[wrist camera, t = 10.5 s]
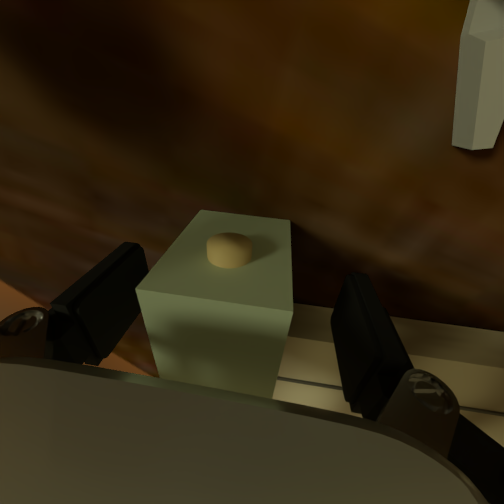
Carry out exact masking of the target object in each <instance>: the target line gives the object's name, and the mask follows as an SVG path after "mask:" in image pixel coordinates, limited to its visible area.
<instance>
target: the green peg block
mask: <svg viewBox="0 0 504 504" xmlns="http://www.w3.org/2000/svg"><path fill="white" fill-rule="evenodd" d="M135 290H136V293H137V297H138V300H139V304H140V308H141V311H142V315H143V318H144V322H145V326H146V329H147V333H148V336H149V340H150V344H151V347H152V351H153V355H154V358H155V362H156V365H157V369H158V373H159V376H160V378H162V379H167V380H173V381H178V382H184V383H189V384H195V385H200V386H205V387H211V388H216V389H222V390H227V391H233V392H238V393H243V394H249V395H254V396H259V397H265V398H270V399H272V397H273V393H274V389H275V385H276V381H277V377H278V372H279V368H280V364H281V360H282V356H283V352H284V348H285V344H286V340H287V335H288V331H289V327H290V323H291V319H292V315H293V289H292V260H291V232H290V220H283V219H274V218H266V217H257V216H249V215H240V214H232V213H223V212H215V211H206V210H200V211H199V213H198V214H197V215H196V216H195V217H194V219H193V220H192V221H191V222H190V223H189V225H188V226H187V227H186V228H185V229H184V231H183V232H182V233H181V234H180V236H179V237H178V238H177V239H176V240H175V242H174V243H173V244H172V245H171V246H170V248H169V249H168V250H167V251H166V252H165V254H164V255H163V256H162V257H161V258H160V260H159V261H158V262H157V263H156V264H155V266H154V267H153V268H152V269H151V270H150V272H149V273H148V274H147V275H146V277H145V278H144V279H143V280H142V281H141V283H140V284H139V285H138V286H137V287H136V289H135Z"/></svg>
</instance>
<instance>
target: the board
mask: <svg viewBox="0 0 504 504" xmlns="http://www.w3.org/2000/svg"><path fill="white" fill-rule="evenodd" d="M333 310H334V308H326V307H319V306H312V305H305V304H297V303H293V315H292V319H291V323H290V327H289V331H288V335H287V340H286V344H285V348H284V352H283V356H282V360H281V364H280V368H279V372H278V377H277V381H276V385H275V389H274V393H273V397H272V399H275V400H280V401H286V402H291V403H296V404H302V405H306V406H311V407H316V408H321V409H326V410H331V411H335V412H340V413H345V414H349V415H353V416H357V417H361V418H362V414H358V413H353V412H351V409H350V404H349V402H346V401H345V399H344V395H343V389H342V384H341V378H340V373H339V368H338V362H337V357H336V352H335V346H334V341H333V335H332V330H331V324H330V319H331V315H332V313H333ZM390 318H391V320H392V322H393V324H394V326H395V328H396V330H397V333H398V335H399V337H400V339H401V341H402V343H403V345H404V347H405V349H406V351H407V354H408V356H409V358H410V360H411V362H412V364H413V366H414V368H415V369H421V370H424V371H427V372H429V373H431V374H433V375H435V376H437V377H438V378H439V379H440V380H442V381H443V382H444V383H445V384H446V385H447V386H448V387H449V388H450V389H451V390H452V392H453V393H454V395H455V396H456V398H457V400H458V403H459V405H460V414H462V415H463V416H464V417H465V418H467V419H468V420H469V421H471V422H472V423H473V424H474V425H476V426H477V427H478V428H480V429H481V430H482V431H483V432H485V433H486V434H487V435H489V436H490V437H491V438H492V439H494V440H495V441H496V442H498V443H499V444H500V445H501V446H503V447H504V332H500V331H493V330H485V329H478V328H471V327H464V326H457V325H449V324H442V323H435V322H428V321H420V320H413V319H406V318H399V317H391V316H390Z"/></svg>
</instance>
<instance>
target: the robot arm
mask: <svg viewBox="0 0 504 504" xmlns="http://www.w3.org/2000/svg"><path fill="white" fill-rule="evenodd" d="M148 273H149V271H148V267H147V262H146V258H145V254H144V250H143V248H142V247H140V245H139V244H138V243H131V242H124V243H123V244H121V245H120V246H119V247H118V248H116V249H115V250H114V251H113V252H112V253H110V254H109V255H108V256H107V257H106V258H104V259H103V260H102V261H101V262H99V263H98V264H97V265H96V266H95V267H93V268H92V269H91V270H90V271H89V272H87V273H86V274H85V275H84V276H82V277H81V278H80V279H79V280H78V281H76V282H75V283H74V284H73V285H71V286H70V287H69V288H68V289H67V290H65V291H64V292H63V293H62V294H61V295H59V296H58V297H57V298H56V299H54V300H53V301H52V302H51V303H50V304H51V306H52V308H51V309H50V310H49V311H48V310H47V309H45V308H42V307H31V308H26V309H23V310H20V311H18V312H15V313H13V314H11V315H9V316H8V317H6V318H5V319H3V320H2V321H1V322H0V504H504V447H503V446H501V445H500V444H499V443H498V442H496V441H495V440H494V439H492V438H491V437H490V436H489V435H487V434H486V433H485V432H483V431H482V430H481V429H480V428H478V427H477V426H476V425H474V424H473V423H472V422H471V421H469V420H468V419H467V418H465V417H464V416H463V415H462V414H460V405H459V403H458V400H457V398H456V396H455V395H454V393H453V392H452V390H451V389H450V388H449V387H448V386H447V385H446V384H445V383H444V382H443V381H442V380H440V379H439V378H438V377H437V376H435V375H433V374H431V373H429V372H427V371H424V370H421V369H415V368H414V366H413V364H412V362H411V360H410V358H409V356H408V354H407V351H406V349H405V347H404V345H403V343H402V341H401V339H400V337H399V335H398V333H397V330H396V328H395V326H394V324H393V322H392V320H391V318H390V316H389V314H388V312H387V310H386V309H385V308H384V307H382V305H381V303H380V301H379V299H378V296H377V294H376V292H375V290H374V288H373V286H372V283H371V281H370V279H369V277H368V275H367V274H363V273H355V272H353V273H351V275H347V276H346V278H345V280H344V283H343V286H342V288H341V291H340V294H339V296H338V299H337V302H336V304H335V307H334V310H333V313H332V315H331V319H330V324H331V330H332V335H333V341H334V346H335V352H336V357H337V362H338V368H339V373H340V378H341V384H342V389H343V395H344V399H345V401H346V402H349V404H350V409H351V412H353V413H358V414H362V418H361V417H357V416H353V415H349V414H345V413H340V412H335V411H331V410H326V409H321V408H316V407H311V406H306V405H302V404H296V403H291V402H286V401H280V400H275V399H270V398H265V397H259V396H254V395H249V394H243V393H238V392H233V391H227V390H222V389H216V388H211V387H205V386H200V385H195V384H189V383H184V382H178V381H173V380H167V379H162V378H156V377H151V376H144V375H139V374H134V373H128V372H122V371H117V370H111V369H105V368H100V367H94V366H88V365H82V364H83V363H84V362H85V364H90V365H96V366H98V365H99V364H100V362H101V361H102V359H103V358H106V357H108V356H109V354H110V353H111V352H112V350H113V349H114V348H115V346H116V345H117V343H118V342H119V341H120V339H121V338H122V337H123V335H124V334H125V332H126V331H127V330H128V328H129V327H130V325H131V324H132V323H133V321H134V320H135V319H136V317H137V316H138V314H139V313H140V312H141V308H140V304H139V300H138V297H137V293H136V290H135V289H136V287H137V286H138V285H139V284H140V283H141V281H142V280H143V279H144V278H145V277H146V275H147V274H148Z"/></svg>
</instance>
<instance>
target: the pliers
mask: <svg viewBox="0 0 504 504" xmlns="http://www.w3.org/2000/svg"><path fill="white" fill-rule="evenodd" d="M503 120H504V0H470V3H469V7H468V11H467V15H466V19H465V22H464V26H463V30H462V34H461V40H460V52H459V64H458V76H457V88H456V100H455V112H454V125H453V137H452V145H453V146H457V147H461V148H465V149H470V150H477V149H487V148H493V146H494V144H495V141H496V138H497V136H498V133H499V131H500V128H501V125H502V123H503Z"/></svg>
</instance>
